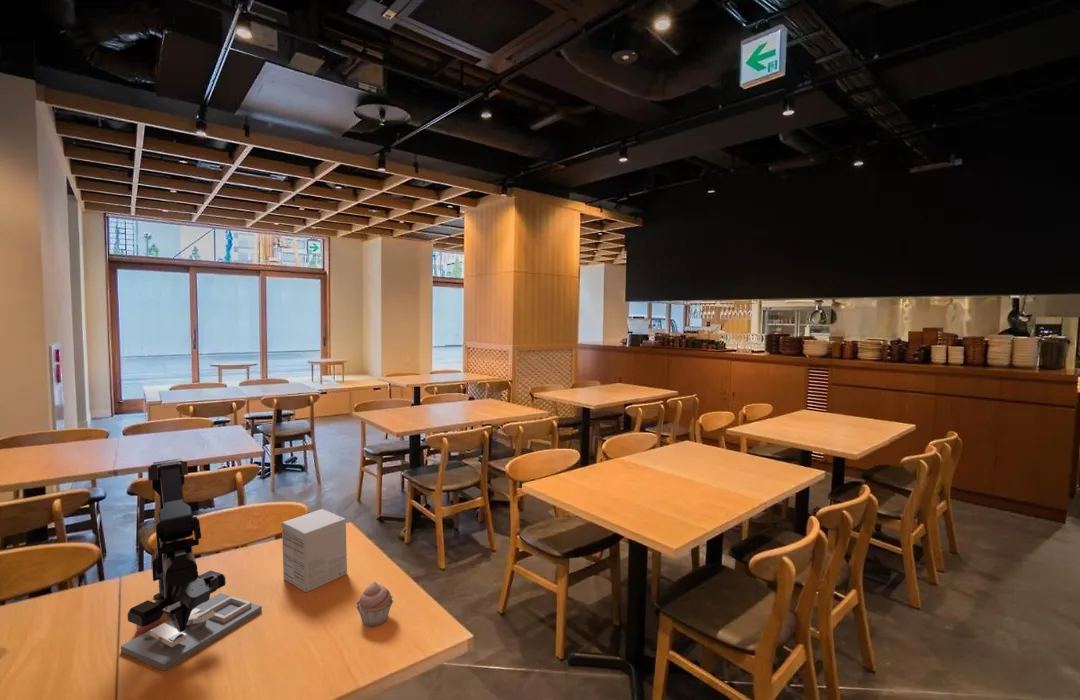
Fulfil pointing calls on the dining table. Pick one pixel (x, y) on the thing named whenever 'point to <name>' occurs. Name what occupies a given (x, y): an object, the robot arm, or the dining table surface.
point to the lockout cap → (147, 627)
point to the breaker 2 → (200, 617)
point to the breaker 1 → (167, 634)
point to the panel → (193, 632)
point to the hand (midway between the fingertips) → (181, 631)
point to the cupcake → (374, 605)
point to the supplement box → (314, 549)
